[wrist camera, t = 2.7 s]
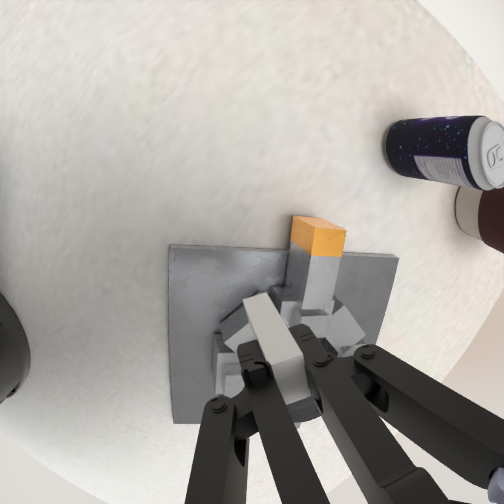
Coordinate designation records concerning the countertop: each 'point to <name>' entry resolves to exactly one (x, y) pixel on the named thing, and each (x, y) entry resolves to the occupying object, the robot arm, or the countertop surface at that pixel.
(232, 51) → the countertop surface
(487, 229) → the coffee cup
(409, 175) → the beverage can
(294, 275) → the segmented block ring
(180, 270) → the flange plate
